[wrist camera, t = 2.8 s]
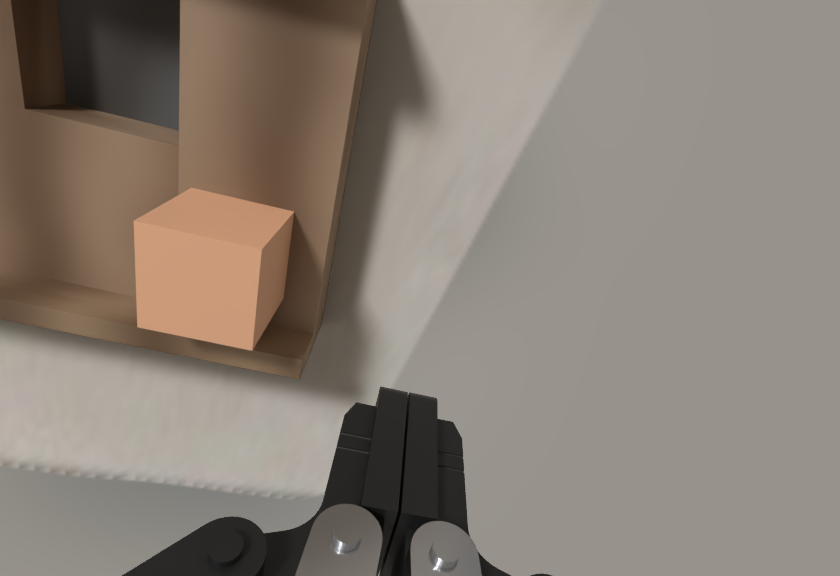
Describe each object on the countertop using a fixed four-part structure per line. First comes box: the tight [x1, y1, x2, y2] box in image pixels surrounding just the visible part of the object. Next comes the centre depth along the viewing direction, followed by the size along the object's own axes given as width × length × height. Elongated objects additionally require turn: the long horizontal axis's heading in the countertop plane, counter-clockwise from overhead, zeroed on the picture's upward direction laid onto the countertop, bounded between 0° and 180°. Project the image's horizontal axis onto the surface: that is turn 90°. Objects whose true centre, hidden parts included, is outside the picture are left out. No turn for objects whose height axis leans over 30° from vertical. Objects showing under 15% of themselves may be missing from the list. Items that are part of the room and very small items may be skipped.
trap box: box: [0, 0, 377, 379], centre depth 17 cm, size 25×16×4 cm, turn 76°
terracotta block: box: [134, 188, 294, 351], centre depth 18 cm, size 4×4×4 cm
